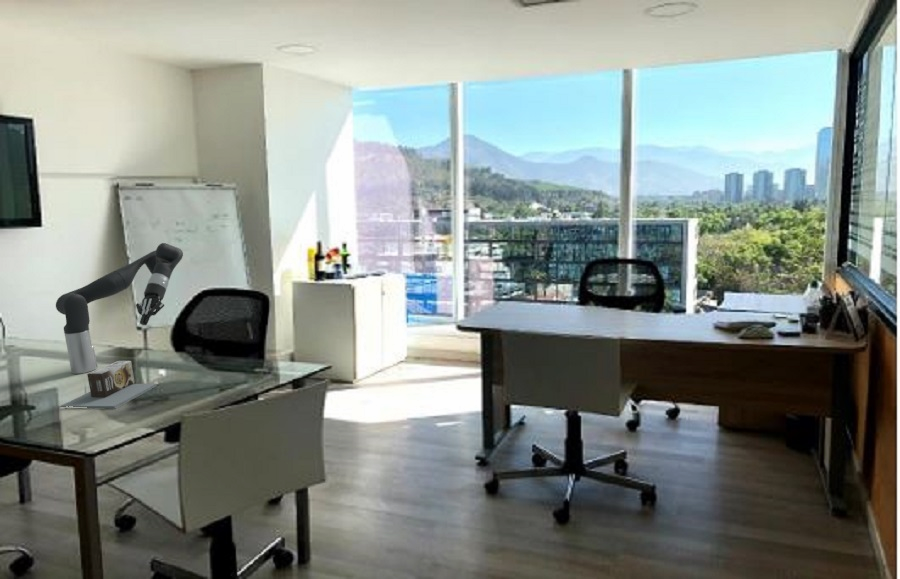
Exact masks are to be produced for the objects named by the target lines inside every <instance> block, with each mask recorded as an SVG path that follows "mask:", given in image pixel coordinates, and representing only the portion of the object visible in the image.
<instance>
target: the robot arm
mask: <svg viewBox="0 0 900 579" xmlns="http://www.w3.org/2000/svg"><path fill="white" fill-rule="evenodd" d="M183 256H184V252H183V250H182V249H181V248H179V247H176V246H175V245H174V246H173V245H171V244H169V243H165V242H162V243H160V244H158V246H157V248H156V249H155V250H153V251H151V252H148V253H147V254H145V255H143V256H142V257H139V258H138V259H136V260H134V261H132V262H130V263H129V264H126V265H124V266H122V267H119V268H117V269H115V270H113V271H111V272H109V273H107V274H105V275H103V276H102V277H99V278H98V279H96V280H94V281H92V282H90V283H88V284H87V285H84V286H83V287H81V288H77V289H74V290H72V291H69V292H67V293H64V294H61V295H60V296H59V297H58V298H57V300H56V301H55V309H56V310H57V311H58V313H60V314H62V315H65V321H66V322H65V325H64V326H63V334H64V338H65V343H66V344H65V345H66V349H67V354H68V360H69V361H68V362H69V365H70V371H71V374H74V375H76V374H77V375H78V374H79V375H80V374H86V373H91V372H94V371H96V369H97V368H98V364H97V358H96V351H95V346H93V344H92V340H91V339H92V338H91V332H90V325H89V324H90V323H91V322H90V312H89V306H88V304H90V303H93V302H95V301H98V300H102V299H105V298H108V297H112V296H114V295H116V294H119V293H121V292H123V291H125V290H127V289H128V288H129V287H130V286H131V285H132V283H133V281H134V279H135V277H136V275H137V273H138V272H139V270H140V269H141V268H142V267H143V265H145V266H146V267H147V269H148V271H149V272H150V274H151V275H150V277H149V279H148V282H147V285H146V287H145V290H144V293H143V295H144V297H143V299H142V301H141V302H140V303H136V305H135V307H136V309H137V312H138V314H139V315H140V316H141V317H140V321H139V324H141V325H142V326H147V324H148V323H149V320H150V318H152V316H156V315H157V314H158V313H159V312H160V311H161V310H162V309H163V308H164V307H165V304H164V303H163V302H162V301H163V300H164V297H165V295H166V291H167V289H168V286H169V282H170V279H171V276H172V274H173V271H174V269H175V268H176V267H177V265H178V264H179V263H180V262H181V260H183V258H184V257H183Z"/></svg>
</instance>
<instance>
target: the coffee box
mask: <svg viewBox="0 0 900 579" xmlns="http://www.w3.org/2000/svg"><path fill="white" fill-rule="evenodd" d="M87 379H88V380H87V381H88V385H89V392H91V397H107V396H109V395H111V394H113V393H115V392H117V391H119V390H121V389H123V388H125V387H127V386H129V385H132V384H136V383H135V377H134V370H133V364H132V361H131V360H117V361H115V362H112V363H111V364H108V365H106V366H105V365H104V366H103V367H101V368H99V369H97V370H96V369H95V370H93V371H90V372H88V373H87Z"/></svg>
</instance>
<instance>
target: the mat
mask: <svg viewBox="0 0 900 579" xmlns="http://www.w3.org/2000/svg"><path fill="white" fill-rule="evenodd" d="M156 387H158V384H157V383H134V384H132V385H129V386H127V387H125V388H123V389H121V390H119V391H117V392H115V393H113V394H111V395H109V396H107V397H91V392H90V391H89V392H86V393H84V394H82V395H80V396H78V397H76V398H74V399H72V400H70V401H68V402H65V403H64V404H62V405H61V404H60V405H59V408H60V407H66V406H68V407H69V406H73V407H87V408H105V409H104V410H107V409H106V408H115V407H117V406H119V407H121V406H123V405H125V404H126V403H128V402H130V401H133V400H134V399H136V398H138V397H139V396H141V395H144V394H145V393H147V392H149V391H150V390H152V388H153V389H154V388H156ZM122 404H123V405H122ZM120 405H121V406H120Z"/></svg>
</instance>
